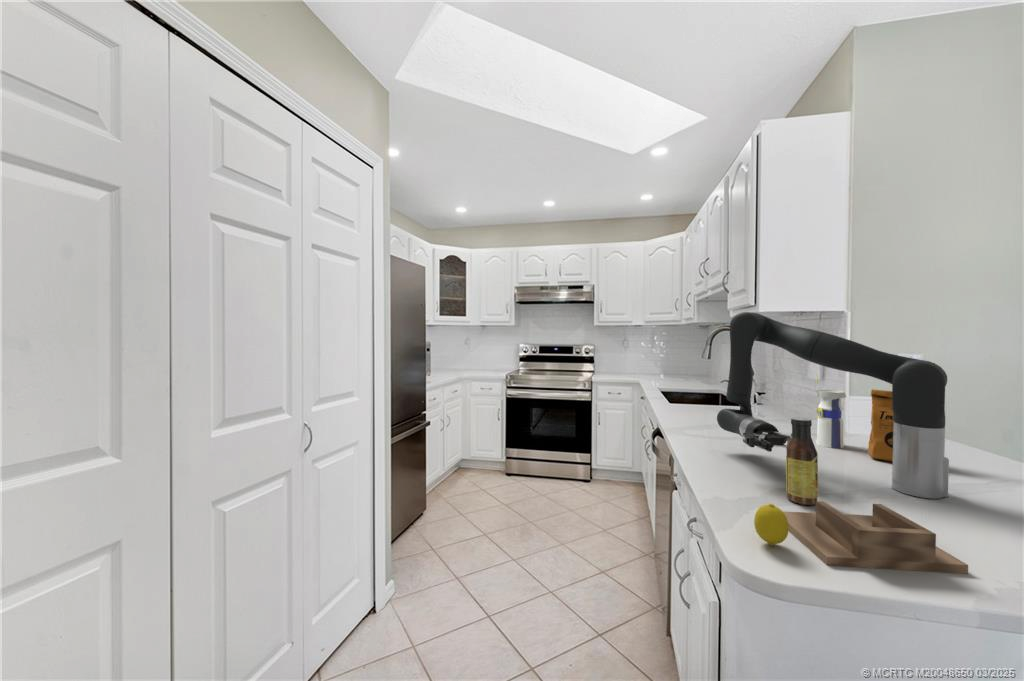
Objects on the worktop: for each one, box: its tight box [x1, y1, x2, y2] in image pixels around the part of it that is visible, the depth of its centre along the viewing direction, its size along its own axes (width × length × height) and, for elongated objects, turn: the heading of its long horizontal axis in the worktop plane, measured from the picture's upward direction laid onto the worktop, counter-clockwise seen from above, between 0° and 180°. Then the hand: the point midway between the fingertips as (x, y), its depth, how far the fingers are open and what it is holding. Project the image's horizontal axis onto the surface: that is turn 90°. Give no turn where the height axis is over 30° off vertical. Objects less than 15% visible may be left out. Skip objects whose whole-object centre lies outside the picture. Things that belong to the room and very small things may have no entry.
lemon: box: [753, 503, 789, 546], centre depth 78 cm, size 6×6×8 cm
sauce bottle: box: [785, 416, 819, 506], centre depth 98 cm, size 6×6×20 cm
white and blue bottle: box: [815, 373, 847, 449], centre depth 144 cm, size 8×9×25 cm
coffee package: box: [867, 388, 894, 463], centre depth 127 cm, size 10×12×22 cm
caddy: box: [782, 500, 969, 575], centre depth 79 cm, size 22×18×6 cm
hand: (788, 448), depth 103 cm, fingers open, 8 cm apart
